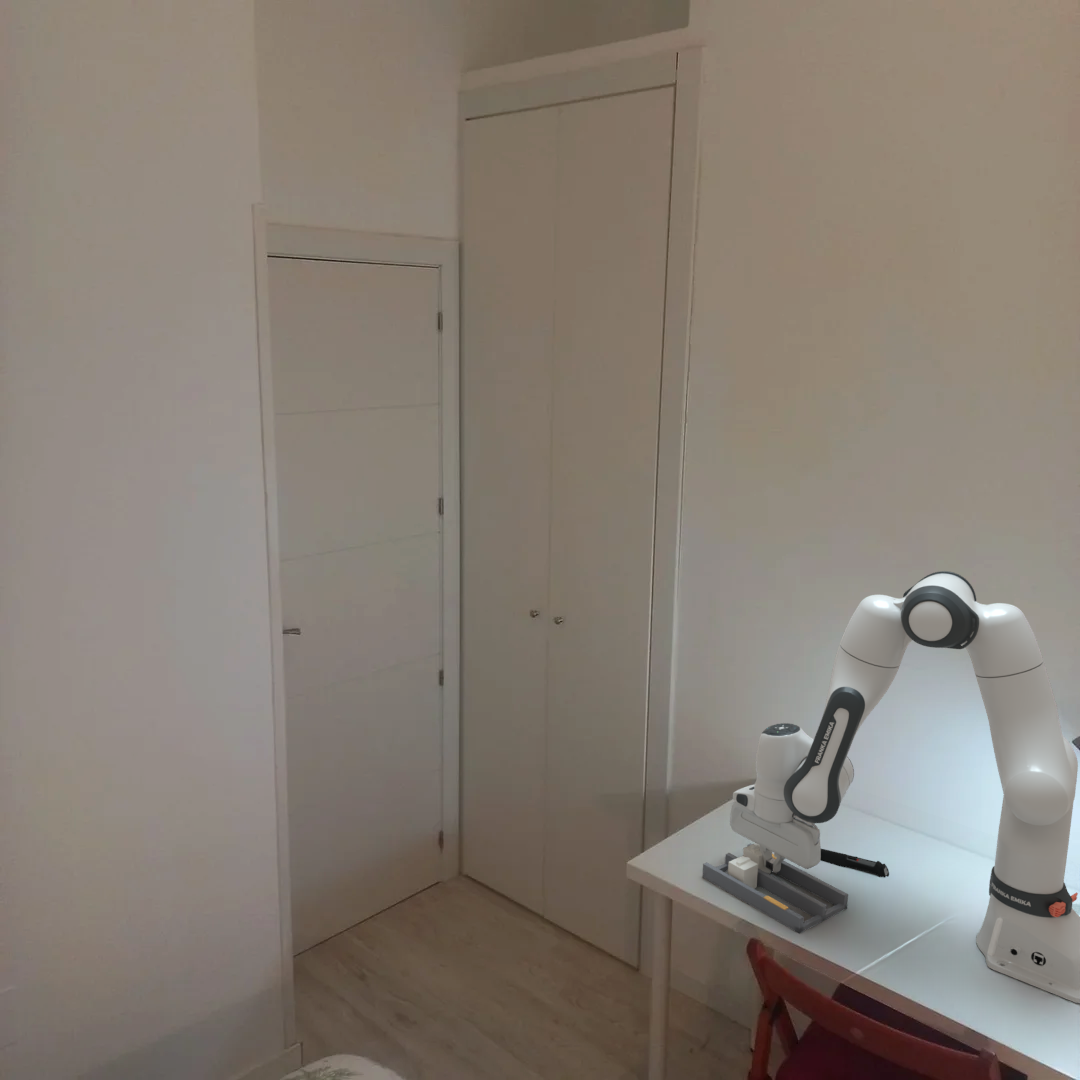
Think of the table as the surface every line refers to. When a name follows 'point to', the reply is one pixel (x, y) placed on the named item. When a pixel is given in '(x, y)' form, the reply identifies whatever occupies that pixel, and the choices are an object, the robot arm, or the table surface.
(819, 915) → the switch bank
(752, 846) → the white rectangular block
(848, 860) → the electric trimmer
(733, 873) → the white boxy block
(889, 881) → the table surface
